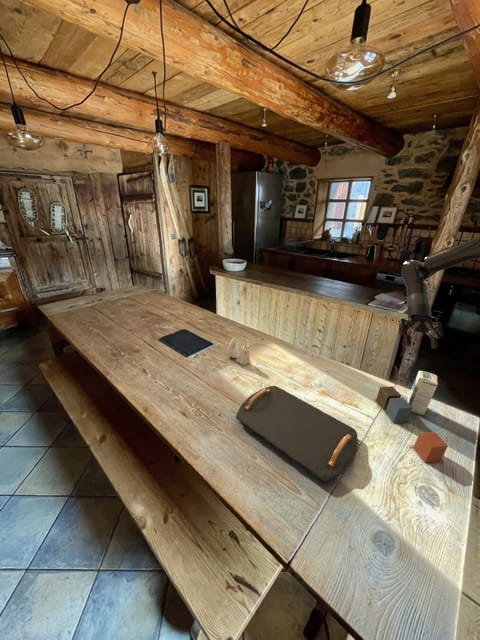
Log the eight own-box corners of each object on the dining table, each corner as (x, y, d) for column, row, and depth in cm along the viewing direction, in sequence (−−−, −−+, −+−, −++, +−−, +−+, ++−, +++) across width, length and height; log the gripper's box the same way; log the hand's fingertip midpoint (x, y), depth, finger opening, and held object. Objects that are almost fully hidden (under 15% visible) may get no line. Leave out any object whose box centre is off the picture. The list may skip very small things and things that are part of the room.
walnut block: (388, 399, 102) (392, 386, 99) (396, 409, 98) (401, 395, 95) (375, 400, 102) (380, 387, 99) (383, 410, 97) (388, 396, 94)
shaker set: (225, 357, 127) (224, 337, 122) (230, 353, 130) (230, 333, 125) (245, 366, 120) (245, 345, 115) (250, 362, 123) (251, 342, 118)
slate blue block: (398, 411, 97) (403, 397, 94) (407, 421, 92) (412, 407, 90) (385, 412, 96) (389, 398, 94) (393, 422, 92) (398, 408, 89)
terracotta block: (428, 446, 83) (434, 431, 81) (440, 461, 79) (448, 446, 76) (413, 447, 83) (419, 433, 80) (424, 462, 78) (431, 447, 76)
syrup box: (406, 400, 102) (417, 369, 96) (424, 406, 99) (437, 374, 93) (406, 409, 98) (418, 377, 91) (424, 416, 95) (438, 383, 89)
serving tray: (365, 441, 85) (369, 427, 82) (333, 496, 69) (337, 481, 67) (267, 386, 108) (268, 374, 105) (228, 418, 92) (227, 405, 90)
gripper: (403, 301, 101) (405, 342, 96) (444, 304, 99) (449, 347, 94) (394, 309, 108) (396, 347, 103) (433, 312, 106) (437, 351, 101)
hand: (421, 347), depth 98 cm, fingers open, 8 cm apart
